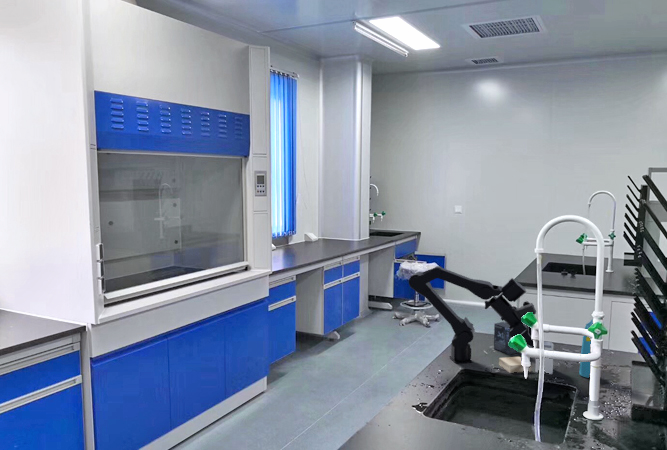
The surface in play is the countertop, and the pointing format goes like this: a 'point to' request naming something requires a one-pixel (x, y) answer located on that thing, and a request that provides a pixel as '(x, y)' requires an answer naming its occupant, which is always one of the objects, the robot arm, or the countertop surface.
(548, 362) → the carton
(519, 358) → the block
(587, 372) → the blue plastic bottle
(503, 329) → the box
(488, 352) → the countertop surface
